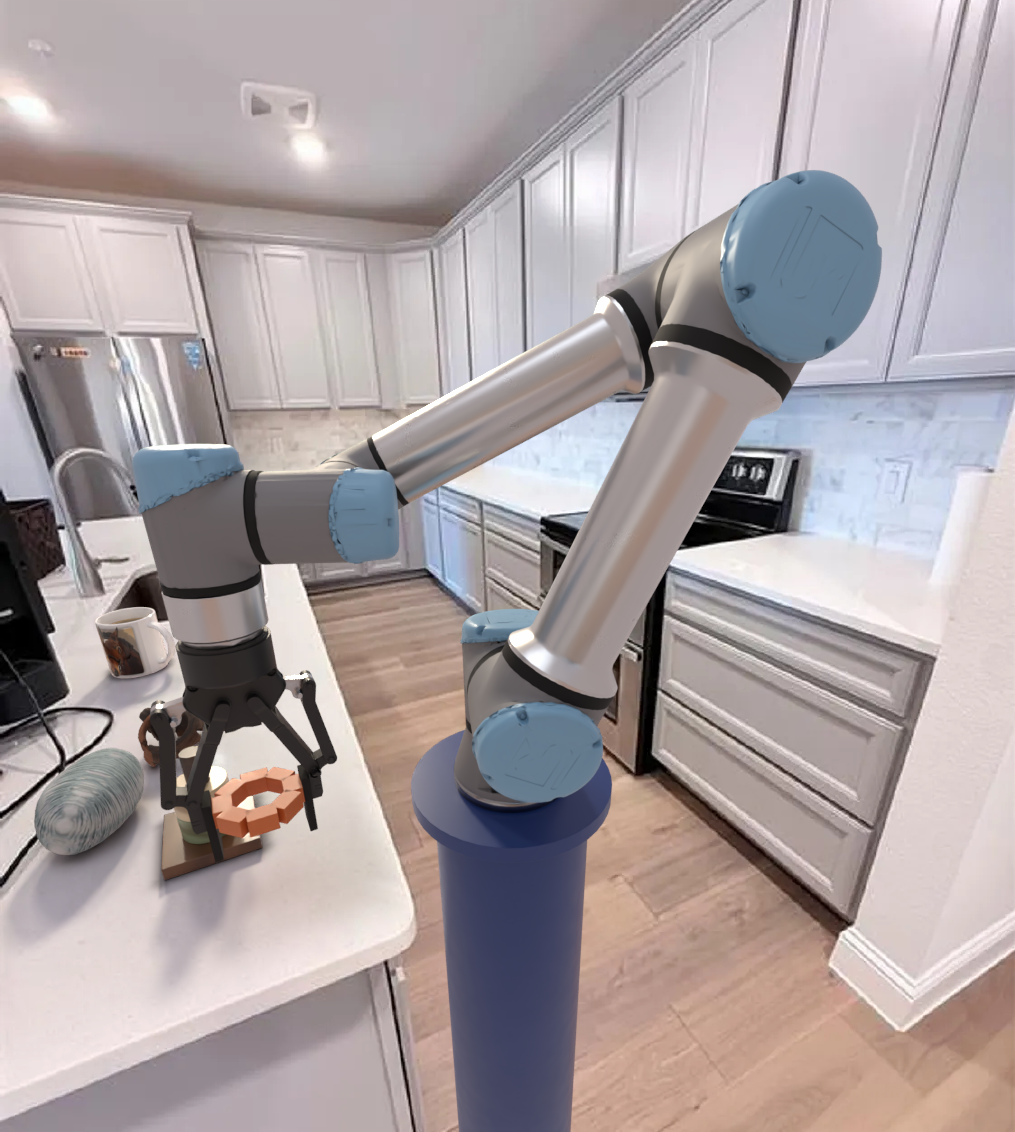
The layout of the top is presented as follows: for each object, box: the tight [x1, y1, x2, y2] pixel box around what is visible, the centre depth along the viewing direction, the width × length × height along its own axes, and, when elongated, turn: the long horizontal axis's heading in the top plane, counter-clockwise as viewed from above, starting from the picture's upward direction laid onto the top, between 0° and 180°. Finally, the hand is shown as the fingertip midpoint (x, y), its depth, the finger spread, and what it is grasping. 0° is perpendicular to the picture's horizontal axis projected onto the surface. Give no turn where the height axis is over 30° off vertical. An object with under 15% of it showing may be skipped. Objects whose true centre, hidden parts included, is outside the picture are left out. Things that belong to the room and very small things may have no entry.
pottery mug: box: [137, 707, 204, 768], centre depth 82 cm, size 12×10×8 cm
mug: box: [94, 606, 176, 679], centre depth 107 cm, size 10×12×11 cm
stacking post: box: [160, 745, 263, 881], centre depth 64 cm, size 10×10×12 cm
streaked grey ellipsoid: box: [33, 747, 145, 856], centre depth 67 cm, size 14×10×10 cm
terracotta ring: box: [211, 766, 305, 838], centre depth 55 cm, size 8×8×2 cm
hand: (267, 836), depth 57 cm, fingers closed on terracotta ring, 8 cm apart
